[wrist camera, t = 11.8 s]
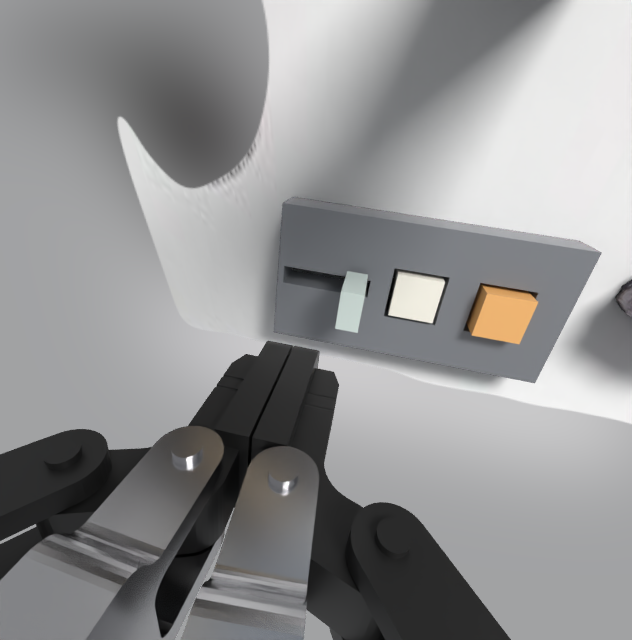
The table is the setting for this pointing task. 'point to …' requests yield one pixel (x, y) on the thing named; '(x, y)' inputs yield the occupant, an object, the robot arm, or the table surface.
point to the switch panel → (431, 258)
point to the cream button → (415, 295)
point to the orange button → (501, 313)
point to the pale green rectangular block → (351, 301)
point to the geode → (625, 298)
